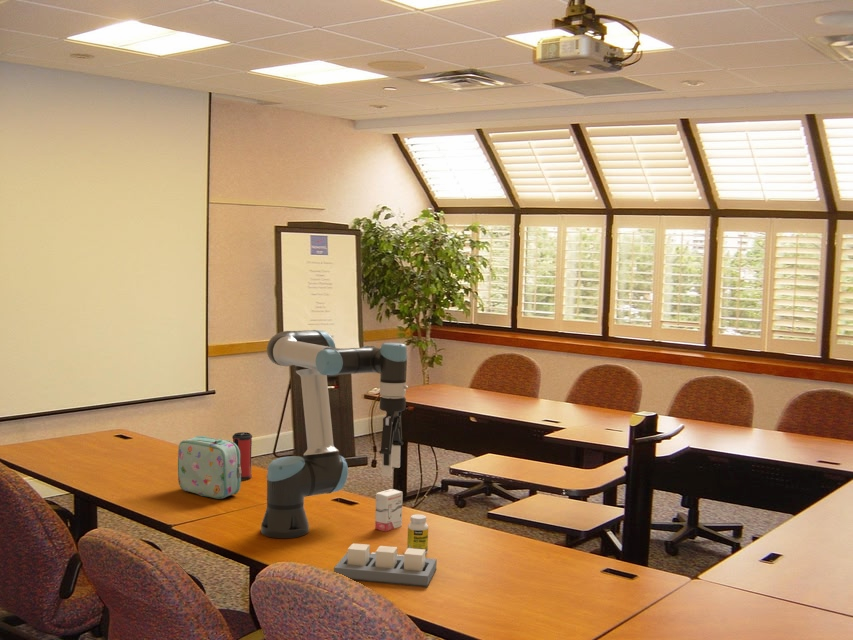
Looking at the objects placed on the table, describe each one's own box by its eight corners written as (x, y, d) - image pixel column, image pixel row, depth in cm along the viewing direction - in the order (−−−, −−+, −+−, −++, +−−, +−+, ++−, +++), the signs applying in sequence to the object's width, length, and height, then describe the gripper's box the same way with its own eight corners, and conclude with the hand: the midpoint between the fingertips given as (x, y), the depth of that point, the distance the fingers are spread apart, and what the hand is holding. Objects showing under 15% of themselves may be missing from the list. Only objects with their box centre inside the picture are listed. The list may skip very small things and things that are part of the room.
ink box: (385, 532, 276) (386, 496, 275) (374, 529, 279) (374, 493, 278) (402, 526, 283) (403, 491, 282) (391, 523, 286) (392, 488, 285)
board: (333, 578, 234) (334, 567, 233) (347, 561, 247) (348, 551, 247) (427, 587, 229) (427, 576, 229) (436, 569, 243) (436, 559, 242)
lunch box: (246, 497, 314) (247, 439, 313) (225, 503, 305) (226, 443, 304) (195, 485, 328) (196, 430, 327) (174, 491, 319) (175, 434, 318)
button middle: (375, 567, 236) (375, 551, 236) (379, 561, 241) (380, 545, 241) (393, 568, 235) (393, 552, 235) (397, 562, 240) (397, 547, 240)
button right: (403, 569, 234) (404, 553, 234) (407, 563, 239) (407, 548, 239) (421, 571, 234) (422, 555, 233) (425, 565, 238) (425, 549, 238)
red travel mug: (249, 481, 337) (249, 435, 336) (229, 480, 337) (230, 435, 336) (253, 476, 345) (254, 432, 344) (234, 475, 345) (235, 431, 344)
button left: (347, 564, 237) (347, 548, 237) (352, 558, 242) (352, 543, 242) (364, 566, 236) (365, 550, 236) (369, 560, 241) (369, 544, 241)
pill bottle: (412, 557, 253) (413, 520, 252) (403, 550, 258) (404, 514, 257) (431, 554, 256) (432, 517, 255) (421, 548, 261) (422, 512, 260)
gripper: (397, 403, 235) (395, 481, 237) (413, 391, 258) (411, 463, 260) (370, 401, 237) (368, 480, 238) (389, 390, 260) (387, 462, 261)
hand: (391, 471), depth 249 cm, fingers open, 11 cm apart
